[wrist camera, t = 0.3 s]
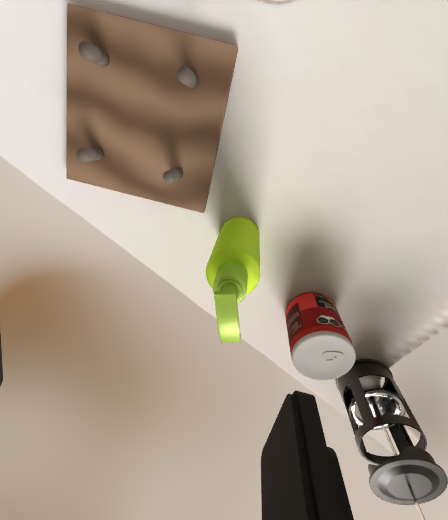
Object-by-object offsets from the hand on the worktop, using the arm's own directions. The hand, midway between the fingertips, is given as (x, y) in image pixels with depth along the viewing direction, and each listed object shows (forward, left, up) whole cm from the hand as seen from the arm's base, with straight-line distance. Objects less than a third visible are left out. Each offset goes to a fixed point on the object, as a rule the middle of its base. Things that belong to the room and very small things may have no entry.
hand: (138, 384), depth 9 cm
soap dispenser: (+7, +3, -35) cm, 36 cm away
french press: (+27, +31, -35) cm, 54 cm away
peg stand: (-6, -13, -35) cm, 38 cm away
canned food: (+16, +17, -35) cm, 42 cm away
